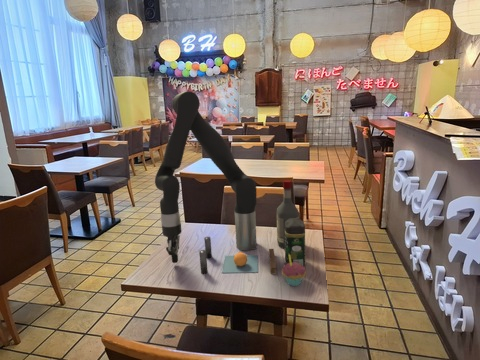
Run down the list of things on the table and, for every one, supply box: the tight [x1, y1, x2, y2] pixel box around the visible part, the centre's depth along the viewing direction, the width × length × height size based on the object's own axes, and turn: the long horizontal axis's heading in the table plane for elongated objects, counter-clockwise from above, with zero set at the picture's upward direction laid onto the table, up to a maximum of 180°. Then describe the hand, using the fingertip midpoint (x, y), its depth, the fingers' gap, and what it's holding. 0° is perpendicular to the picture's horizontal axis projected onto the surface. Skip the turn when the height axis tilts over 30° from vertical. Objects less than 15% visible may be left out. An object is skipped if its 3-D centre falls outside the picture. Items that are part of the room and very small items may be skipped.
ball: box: [233, 251, 247, 266], centre depth 128 cm, size 6×6×6 cm
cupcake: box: [281, 255, 307, 287], centre depth 114 cm, size 9×8×12 cm
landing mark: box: [221, 254, 259, 274], centre depth 130 cm, size 14×14×1 cm
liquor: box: [276, 179, 300, 250], centre depth 142 cm, size 9×9×30 cm
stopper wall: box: [268, 248, 277, 275], centre depth 129 cm, size 2×16×2 cm, turn 177°
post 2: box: [203, 236, 213, 260], centre depth 136 cm, size 3×3×9 cm
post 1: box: [198, 249, 208, 275], centre depth 124 cm, size 3×3×9 cm
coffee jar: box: [284, 217, 306, 268], centre depth 126 cm, size 10×8×19 cm
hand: (175, 261), depth 131 cm, fingers closed
